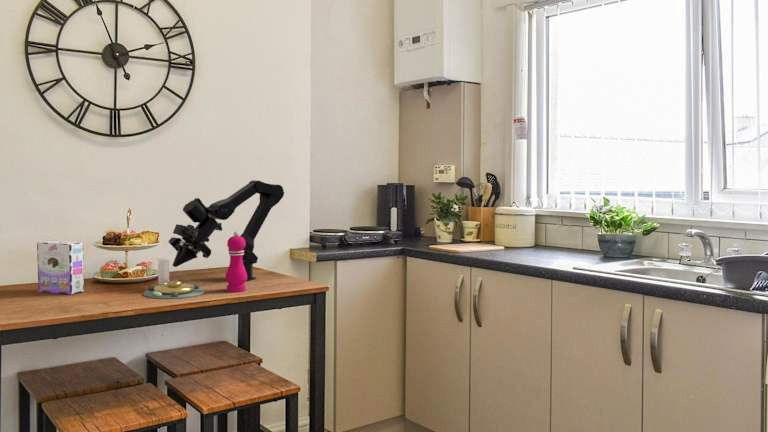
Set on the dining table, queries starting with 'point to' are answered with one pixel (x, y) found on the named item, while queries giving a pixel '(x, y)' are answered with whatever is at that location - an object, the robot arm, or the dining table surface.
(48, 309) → the dining table surface
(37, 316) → the dining table surface
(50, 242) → the candy box
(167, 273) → the footscrew wheel
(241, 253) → the pepper mill
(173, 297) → the tribrach plate
